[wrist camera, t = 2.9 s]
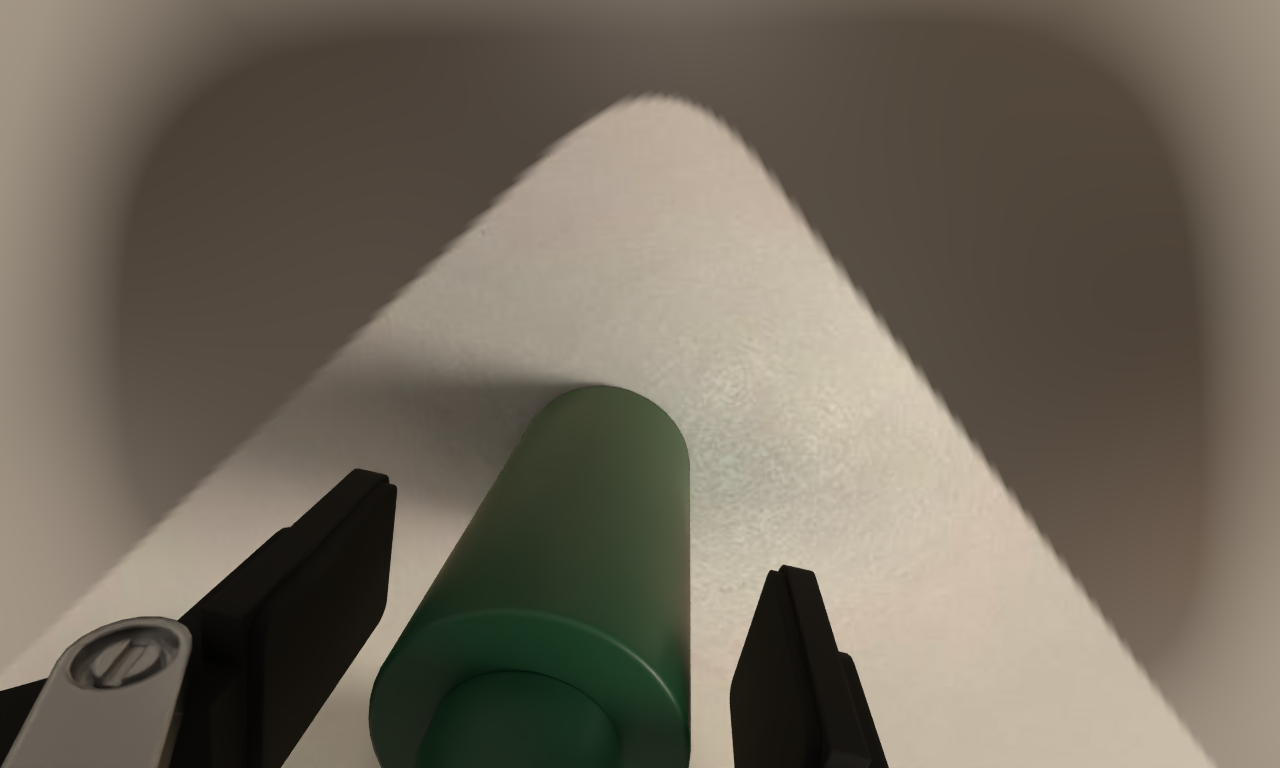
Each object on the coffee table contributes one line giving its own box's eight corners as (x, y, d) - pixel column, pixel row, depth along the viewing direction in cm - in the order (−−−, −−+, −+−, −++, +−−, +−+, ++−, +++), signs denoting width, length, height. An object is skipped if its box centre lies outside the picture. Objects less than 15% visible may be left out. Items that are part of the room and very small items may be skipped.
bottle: (489, 433, 17) (222, 790, 7) (635, 354, 16) (553, 648, 6) (577, 562, 18) (449, 1022, 8) (719, 496, 17) (760, 932, 7)
